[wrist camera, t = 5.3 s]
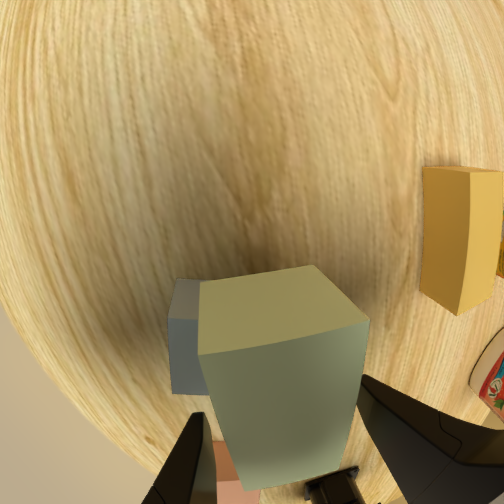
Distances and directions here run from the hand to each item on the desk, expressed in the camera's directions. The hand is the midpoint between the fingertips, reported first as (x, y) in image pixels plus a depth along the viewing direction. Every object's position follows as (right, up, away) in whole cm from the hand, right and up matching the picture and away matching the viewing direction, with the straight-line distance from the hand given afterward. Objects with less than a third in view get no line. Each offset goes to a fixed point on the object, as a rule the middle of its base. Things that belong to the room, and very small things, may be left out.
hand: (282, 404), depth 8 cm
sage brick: (0, +1, +2) cm, 3 cm away
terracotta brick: (-3, -13, +10) cm, 17 cm away
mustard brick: (+11, +7, +7) cm, 15 cm away
